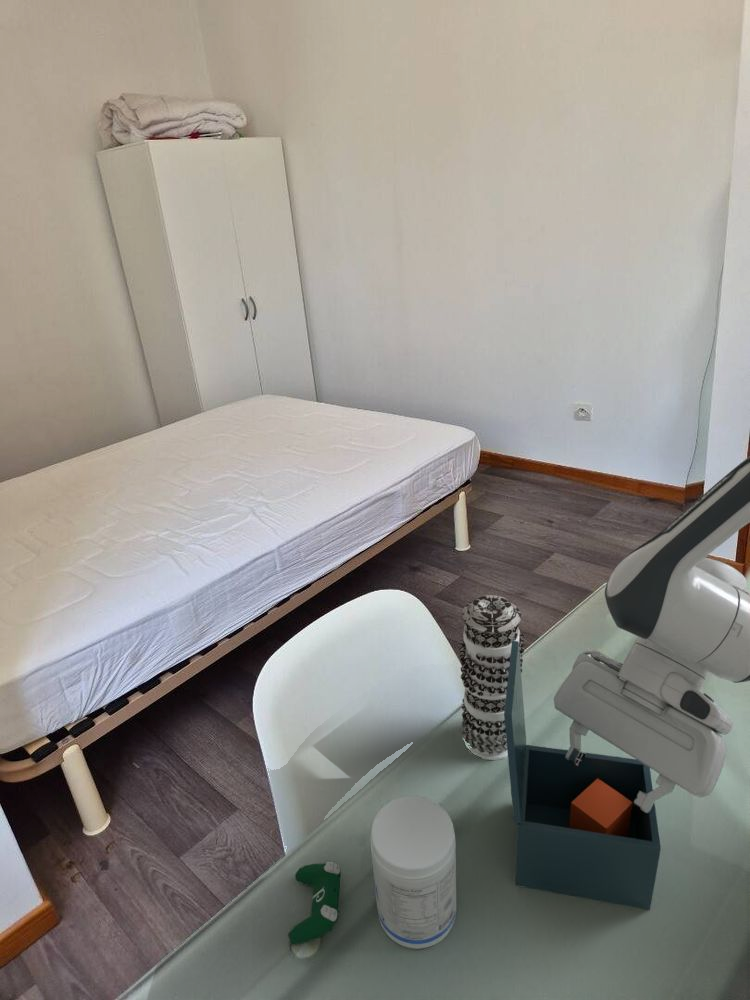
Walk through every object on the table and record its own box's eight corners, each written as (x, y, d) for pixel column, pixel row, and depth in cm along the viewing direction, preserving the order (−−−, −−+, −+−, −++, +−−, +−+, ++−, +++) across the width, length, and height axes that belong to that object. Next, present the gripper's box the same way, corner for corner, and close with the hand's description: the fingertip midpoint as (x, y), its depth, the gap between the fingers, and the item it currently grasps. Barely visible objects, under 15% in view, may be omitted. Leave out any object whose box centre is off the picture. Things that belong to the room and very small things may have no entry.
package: (626, 846, 87) (632, 802, 84) (600, 873, 84) (606, 828, 81) (592, 821, 91) (597, 777, 87) (567, 845, 88) (571, 802, 84)
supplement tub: (377, 875, 87) (369, 794, 80) (452, 873, 87) (450, 790, 80) (377, 955, 78) (368, 870, 72) (461, 952, 78) (459, 867, 71)
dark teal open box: (640, 819, 92) (648, 760, 87) (650, 910, 81) (660, 848, 76) (520, 801, 95) (523, 744, 91) (515, 885, 85) (517, 825, 80)
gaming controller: (309, 957, 80) (343, 933, 78) (284, 943, 79) (317, 919, 77) (316, 882, 88) (346, 860, 86) (293, 869, 87) (323, 846, 85)
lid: (518, 641, 83) (511, 640, 84) (511, 714, 73) (503, 714, 73) (526, 741, 90) (520, 741, 91) (521, 823, 79) (514, 822, 80)
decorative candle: (532, 737, 106) (539, 602, 95) (496, 772, 100) (498, 634, 89) (485, 708, 112) (486, 579, 101) (448, 740, 106) (445, 607, 95)
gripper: (575, 638, 89) (524, 733, 88) (734, 721, 74) (676, 837, 73) (593, 650, 93) (545, 741, 92) (747, 730, 78) (692, 840, 77)
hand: (604, 784), depth 82 cm, fingers open, 8 cm apart
